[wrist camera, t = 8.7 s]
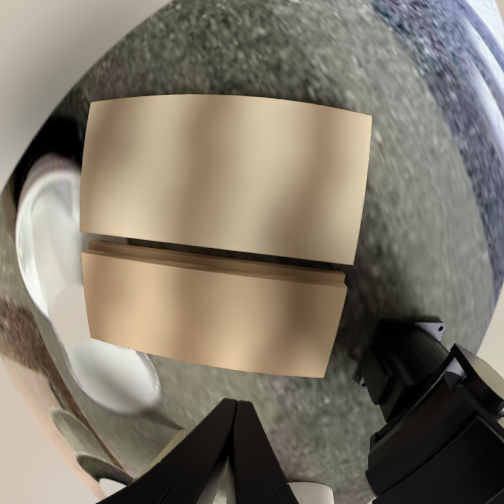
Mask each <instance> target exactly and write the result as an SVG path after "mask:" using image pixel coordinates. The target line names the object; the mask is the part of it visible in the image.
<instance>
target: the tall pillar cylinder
mask: <svg viewBox="0 0 504 504" xmlns="http://www.w3.org/2000/svg"><path fill="white" fill-rule="evenodd" d="M287 484H289V485H290V487H291V489H292V491H293V493H294V495H295V497H296V499H297V500H298V502H299V504H334V500H333V493H332V490H331V488H329V487H328V486H326V485H323V484H319V483H312V482H292V483H287Z"/></svg>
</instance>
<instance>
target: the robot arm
mask: <svg viewBox="0 0 504 504" xmlns="http://www.w3.org/2000/svg"><path fill="white" fill-rule="evenodd" d="M385 324H387V325H386V327H384V328H383V326H384V325H385ZM440 326H441V327H440ZM439 327H440V328H439ZM444 330H445V324H444V323H443V322H442V321H422V320H397V319H383V320H381V321H380V322H379V324H378V326H377V330H376V333H375V336H374V339H373V342H372V344H371V345H370V346H369V348H368V351H367V354H366V357H365V359H364V362H363V365H362V368H361V370H360V372H361V375H360V378H359V380H358V385H359V388H361V389H368V392H369V394H370V397H371V399H372V402H373V403H374V404H375V405H379V406H380V409H381V411H382V414H383V416H384V419H385V421H386V423H387V424H386V425H385V426H384V427H383V428H382V429H381V430H380V431H378V432H376V433H375V434H373V435H372V436H371V438H370V453H369V455H368V469H367V470H366V471H365V477H366V479H367V482H368V485H369V487H370V490H371V492H372V493H373V494H374V496H375V497H376V499H374V500H373V501H372V504H504V380H503V378H502V377H501V376H500V375H499V374H498V373H497V372H496V371H495V370H494V369H493V368H492V367H491V366H490V365H489V364H487V362H485V361H484V360H483V359H481V358H479V357H478V356H476V355H474V354H473V353H471V352H469V351H468V350H466V349H464V348H463V347H461V346H459V345H458V344H456V343H455V344H454V345H453V347H452V348H451V349H450V351H451V352H450V353H449V352H448V350H447V349H446V348H445V347H444V346H443V345H442V344H441V343H440V340H441V338H442V335H443V333H444ZM364 382H365V383H364ZM362 383H364V384H362ZM229 450H230V451H229ZM228 456H229V457H228ZM227 460H228V468H227V504H299V502H298V500H297V499H296V497H295V495H294V493H293V491H292V489H291V487H290V485H289V484H287V483H288V481H287V479H286V477H285V475H284V473H283V471H282V469H281V467H280V465H279V462H278V460H277V458H276V456H275V454H274V452H273V450H272V447H271V445H270V443H269V441H268V438H267V436H266V434H265V432H264V429H263V427H262V425H261V423H260V420H259V418H258V416H257V413H256V411H255V409H254V406H253V404H252V402H250V401H243V400H239V401H237V400H236V399H230V398H224V399H223V400H222V401H221V402H220V403H219V404H218V405H217V406H216V407H215V408H214V409H213V410H212V411H211V412H210V413H209V414H208V415H207V416H206V417H205V418H204V419H203V420H202V421H201V422H200V423H199V424H198V425H197V426H196V427H195V428H194V429H193V430H192V431H191V432H190V433H189V434H188V435H187V436H186V437H185V438H184V439H183V440H182V441H180V442H179V443H178V444H177V445H176V446H175V447H174V448H173V449H172V450H171V451H170V452H169V453H168V454H166V455H165V456H164V457H163V458H162V459H161V460H160V462H157V463H156V464H155V465H154V466H153V467H152V468H151V469H149V470H148V471H147V472H146V473H145V474H143V475H142V476H141V477H139V478H138V479H137V480H135V481H134V482H132V483H131V484H129V485H128V486H126V487H125V488H123V489H121V490H119V491H118V492H116V493H114V494H112V495H111V496H109V497H107V498H105V499H103V500H102V501H100V502H98V503H96V504H212V503H213V501H214V498H215V495H216V492H217V490H218V487H219V484H220V481H221V479H222V476H223V473H224V470H225V467H226V464H227Z"/></svg>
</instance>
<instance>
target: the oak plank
mask: <svg viewBox="0 0 504 504" xmlns="http://www.w3.org/2000/svg"><path fill="white" fill-rule="evenodd" d="M371 123H372V116H369V115H365V114H361V113H356V112H352V111H347V110H343V109H338V108H333V107H327V106H322V105H316V104H310V103H303V102H296V101H289V100H281V99H272V98H262V97H250V96H234V95H202V94H189V95H157V96H142V97H130V98H121V99H112V100H104V101H97V102H91V105H90V110H89V116H88V122H87V129H86V136H85V144H84V152H83V162H82V175H81V191H80V232H88V233H96V234H104V235H112V236H120V237H128V238H136V239H144V240H152V241H161V242H169V243H177V244H185V245H193V246H201V247H210V248H218V249H226V250H234V251H242V252H250V253H259V254H267V255H275V256H283V257H291V258H300V259H308V260H316V261H324V262H332V263H341V264H349V265H353V263H354V258H355V252H356V247H357V241H358V236H359V230H360V223H361V217H362V210H363V203H364V196H365V188H366V180H367V171H368V161H369V150H370V138H371Z"/></svg>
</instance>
